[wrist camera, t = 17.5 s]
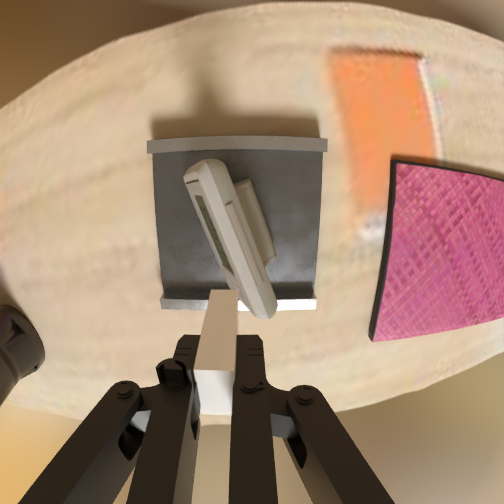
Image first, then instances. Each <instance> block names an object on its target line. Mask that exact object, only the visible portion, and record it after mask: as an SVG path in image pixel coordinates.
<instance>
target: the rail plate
mask: <svg viewBox="0 0 504 504" xmlns="http://www.w3.org/2000/svg"><path fill="white" fill-rule="evenodd" d="M327 140H328V139H324V138H310V137H291V136H204V137H185V138H171V139H159V140H149V141H147V154H152V153H153V180H154V199H155V214H156V226H157V237H158V248H159V257H160V266H161V274H162V282H163V290H164V292H163V294H162V296H161V298H160V302H161V309H175V310H206V309H207V305H208V301H209V296H210V292H211V290H231V289H230V287H229V286H228V284H227V282H226V279H225V277H224V275H223V273H222V270H221V268H220V266H219V263H218V261H217V259H216V257H215V254H214V252H213V250H212V247H211V245H210V243H209V240H208V238H207V235H206V233H205V231H204V228H203V226H202V224H201V221H200V219H199V216H198V214H197V212H196V209H195V207H194V204H193V202H192V199H191V197H190V194H189V192H188V189H187V187H186V184H185V182H184V175H185V173H186V171H187V170H188V169H189V168H190V167H191V166H193V165H195V164H196V163H198V162H200V161H202V160H204V159H211V158H213V159H217V160H219V161H222V162H223V163H224V164H225V166H226V168H227V170H228V173H229V175H230V178H231V180H232V183H233V184H234V183H237V182H239V181H242V180H245V179H248V178H249V179H250V181H251V183H252V186H253V189H254V192H255V194H256V197H257V200H258V202H259V205H260V208H261V211H262V213H263V216H264V219H265V222H266V224H267V227H268V230H269V233H270V236H271V238H272V241H273V244H274V247H275V250H276V254H277V258H276V259H275V260H274V261H272V262H271V263H269V264H268V265H267V266H266V267H265V270H266V272H267V275H268V278H269V280H270V283H271V286H272V288H273V291H274V294H275V297H276V299H277V302H278V307H277V310H302V309H316V303H317V298H316V296H315V293H314V284H315V274H316V263H317V251H318V238H319V224H320V207H321V187H322V159H323V152H327ZM238 311H249V310H248V308H247V307H246V306H245V305H244V304H243V303H242V302H241V301H240V299H239V298H238Z"/></svg>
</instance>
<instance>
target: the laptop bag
mask: <svg viewBox="0 0 504 504" xmlns="http://www.w3.org/2000/svg"><path fill="white" fill-rule="evenodd" d="M503 317H504V180H501V179H497V178H493V177H489V176H484V175H480V174H475V173H471V172H466V171H461V170H456V169H451V168H445V167H439V166H433V165H427V164H421V163H414V162H407V161H399V160H391V170H390V189H389V202H388V214H387V224H386V233H385V242H384V250H383V257H382V264H381V270H380V277H379V282H378V288H377V293H376V299H375V304H374V308H373V313H372V318H371V323H370V328H369V335H368V336H369V338H370V340H371V341H372V342H377V341H387V340H396V339H403V338H409V337H416V336H422V335H428V334H433V333H439V332H444V331H449V330H454V329H459V328H463V327H468V326H472V325H476V324H480V323H485V322H488V321H492V320H496V319H499V318H503Z"/></svg>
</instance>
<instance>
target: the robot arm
mask: <svg viewBox="0 0 504 504" xmlns="http://www.w3.org/2000/svg"><path fill="white" fill-rule="evenodd" d="M44 360H45V351H44V347H43V344H42V342H41V340H40V338H39V336H38V334H37V332H36V331H35V329H34V328H33V326H32V325H31V324H30V323H29V321H28V320H27V319H26V318H25V317H24V316H23V315H22V314H21V313H20V312H18V311H17V310H16V309H14V308H12V307H10V306H8V305H1V306H0V406H1V405H2V403H3V402H4V401H5V399H6V398H7V396H8V395H9V393H10V392H11V391H12V389H13V388H14V386H15V385H16V384H17V382H18V381H19V380H20V379H22V378H24V377H26V376H28V375H29V374H31V373H33V372H35V371H37V370H38V369H39V368H40V366H41V365H42V364H43V362H44ZM156 371H157V375H158V379H159V382H160V384H158V385H156V386H152V387H145V388H140V387H139V386H138V385H137V384H136V383H134V382H133V381H120V382H118V383H115V384H114V385H113V386H112V387H111V388H110V389H109V390H108V391H107V393H106V394H105V395H104V396H103V397H102V399H101V400H100V401H99V402H98V404H97V405H96V406H95V407H94V408H93V410H92V411H91V412H90V413H89V414H88V416H87V417H86V418H85V419H84V421H83V422H82V423H81V424H80V425H79V427H78V428H77V429H76V431H75V432H74V433H73V434H72V435H71V437H70V438H69V439H68V440H67V442H66V443H65V444H64V445H63V447H62V448H61V449H60V450H59V452H58V453H57V454H56V455H55V457H54V458H53V459H52V461H51V462H50V463H49V464H48V465H47V467H46V468H45V469H44V470H43V472H42V473H41V474H40V476H39V477H38V478H37V479H36V481H35V482H34V483H33V485H32V486H31V487H30V488H29V490H28V491H27V492H26V494H25V495H24V496H23V498H22V499H21V500H20V502H19V503H18V504H113V502H114V500H115V499H116V497H117V495H118V494H119V492H120V490H121V488H122V487H123V485H124V484H125V482H126V480H127V479H128V477H129V475H130V474H131V472H132V470H133V469H134V467H135V470H134V474H133V478H132V482H131V486H130V490H129V494H128V499H127V502H126V504H191V500H192V490H193V482H194V473H195V465H196V456H197V447H198V440H199V432H200V418H199V414H200V409H201V414H211V415H232V417H231V443H230V472H229V504H278V496H277V485H276V472H275V461H274V449H273V437H272V436H277V437H282V438H283V441H284V443H285V445H286V447H287V449H288V452H289V454H290V456H291V458H292V460H293V463H294V464H295V467H296V469H297V471H298V473H299V475H300V477H301V480H302V482H303V484H304V486H305V488H306V490H307V492H308V494H309V496H310V498H311V500H312V502H313V504H395V503H394V501H393V500H392V499H391V497H390V496H389V495H388V493H387V491H386V490H385V488H384V487H383V485H382V484H381V482H380V481H379V479H378V478H377V476H376V475H375V473H374V472H373V471H372V469H371V468H370V466H369V465H368V463H367V462H366V460H365V459H364V457H363V456H362V454H361V453H360V451H359V450H358V448H357V447H356V445H355V444H354V442H353V440H352V439H351V437H350V436H349V434H348V433H347V432H346V430H345V428H344V427H343V425H342V424H341V422H340V421H339V419H338V418H337V416H336V415H335V413H334V411H333V410H332V408H331V407H330V405H329V404H328V402H327V401H326V399H325V398H324V396H323V395H322V393H321V392H320V391H319V390H318V389H317V388H315V387H313V386H309V385H299V386H296V387H294V388H292V389H291V390H290V391H284V390H280V389H277V388H275V387H273V386H271V385H270V384H269V383H268V381H267V379H266V373H265V362H264V351H263V341H262V340H261V338H260V337H259V336H258V335H239V316H238V290H211V292H210V296H209V301H208V305H207V309H206V314H205V318H204V323H203V327H202V332H201V335H183V336H182V337H181V338H180V339H179V340H178V343H177V346H176V349H175V353H174V356H173V358H169V359H166V360H163V361H162V362H160V363H159V364H158V365H157V367H156ZM135 465H136V466H135Z"/></svg>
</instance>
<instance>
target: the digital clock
mask: <svg viewBox="0 0 504 504" xmlns="http://www.w3.org/2000/svg"><path fill="white" fill-rule="evenodd" d="M184 182H185V184H186V187H187V189H188V192H189V194H190V197H191V199H192V202H193V204H194V207H195V209H196V212H197V214H198V216H199V219H200V221H201V224H202V226H203V228H204V231H205V233H206V235H207V238H208V240H209V243H210V245H211V247H212V250H213V252H214V254H215V257H216V259H217V261H218V263H219V266H220V268H221V270H222V273H223V275H224V277H225V279H226V282H227V284H228V286H229V287H230V289H231V290H238V298H239V299H240V301H241V302H242V303H243V304H244V305H245V306H246V307H247V308H248V310H249V311H250V312H251V313H252V314H253V315H254V316H255V317H256V318H260V319H266V320H269V319H270V318H272V317H273V316H274V314H275V313H276V310H277V307H278V302H277V299H276V297H275V294H274V291H273V288H272V286H271V283H270V280H269V278H268V275H267V272H266V270H265V267H266V266H267V265H268V264H269V263H271V262H272V261H274V260H275V259H276V258H277V254H276V250H275V247H274V244H273V241H272V238H271V236H270V233H269V230H268V227H267V224H266V222H265V219H264V216H263V213H262V211H261V208H260V205H259V202H258V200H257V197H256V194H255V192H254V189H253V186H252V183H251V181H250V179H249V178H248V179H245V180H242V181H239V182H237V183H234V184H233V183H232V180H231V178H230V175H229V173H228V170H227V168H226V166H225V164H224V163H223V162H222V161H219V160H217V159H213V158H211V159H204V160H202V161H200V162H198V163H196V164H195V165H193V166H191V167H190V168H189V169H188V170H187V171H186V173H185V175H184Z"/></svg>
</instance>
